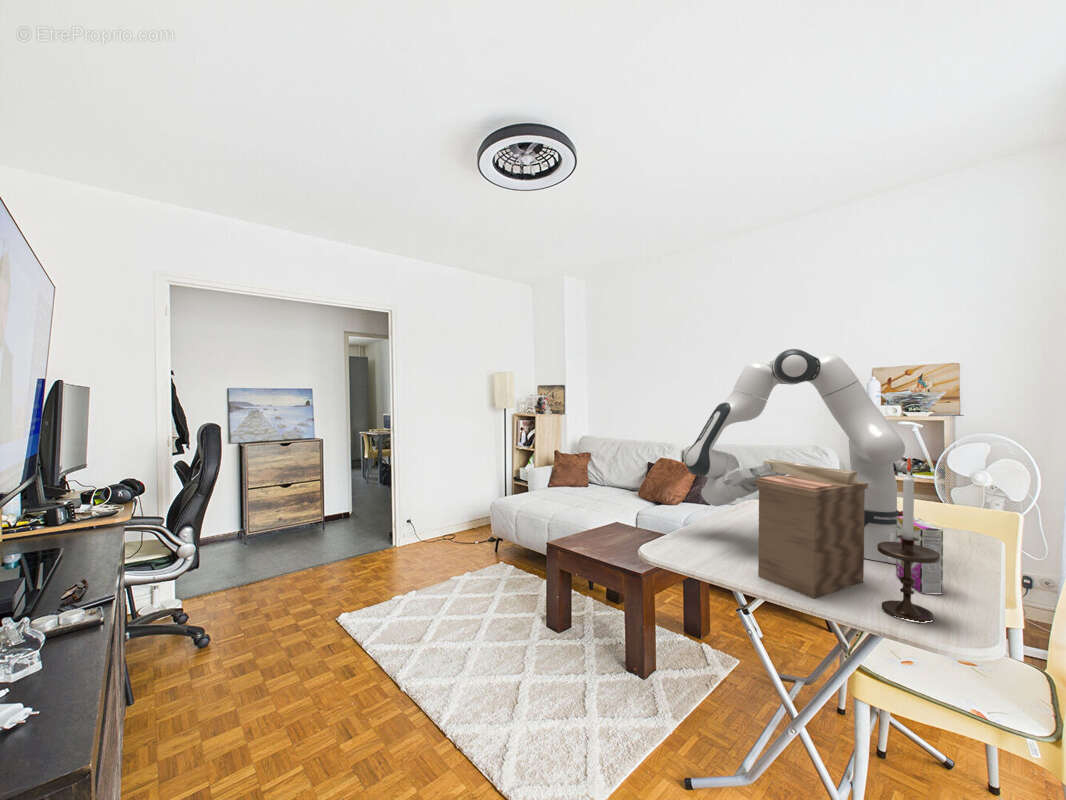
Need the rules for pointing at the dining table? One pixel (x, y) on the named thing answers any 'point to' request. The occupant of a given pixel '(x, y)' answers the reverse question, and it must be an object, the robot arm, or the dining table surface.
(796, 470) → the birch block
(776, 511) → the walnut shelf
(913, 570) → the candy bar box
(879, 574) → the dining table surface
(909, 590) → the candlestick
